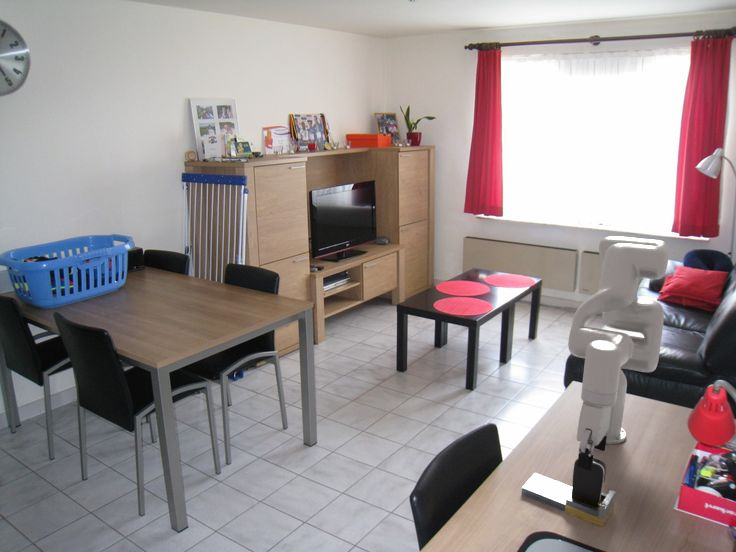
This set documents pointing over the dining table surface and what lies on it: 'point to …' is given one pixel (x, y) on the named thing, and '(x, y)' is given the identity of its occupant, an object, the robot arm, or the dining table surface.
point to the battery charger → (588, 483)
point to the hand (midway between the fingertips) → (591, 458)
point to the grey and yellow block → (567, 499)
